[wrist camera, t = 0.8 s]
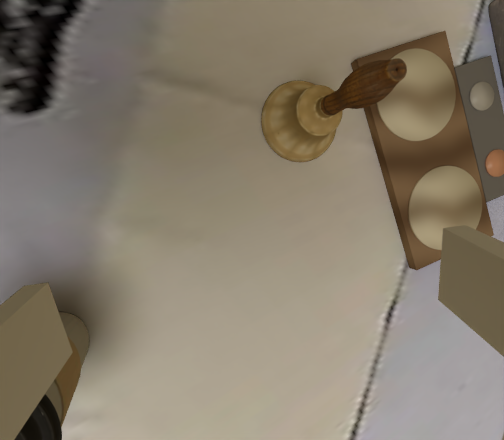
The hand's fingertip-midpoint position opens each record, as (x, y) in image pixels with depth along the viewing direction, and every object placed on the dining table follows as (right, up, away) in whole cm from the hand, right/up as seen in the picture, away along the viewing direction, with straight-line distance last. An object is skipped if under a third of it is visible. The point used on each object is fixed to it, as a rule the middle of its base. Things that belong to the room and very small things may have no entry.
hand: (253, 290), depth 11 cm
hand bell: (+5, +13, +23) cm, 27 cm away
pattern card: (+27, +13, +28) cm, 41 cm away
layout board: (+20, +10, +26) cm, 34 cm away
